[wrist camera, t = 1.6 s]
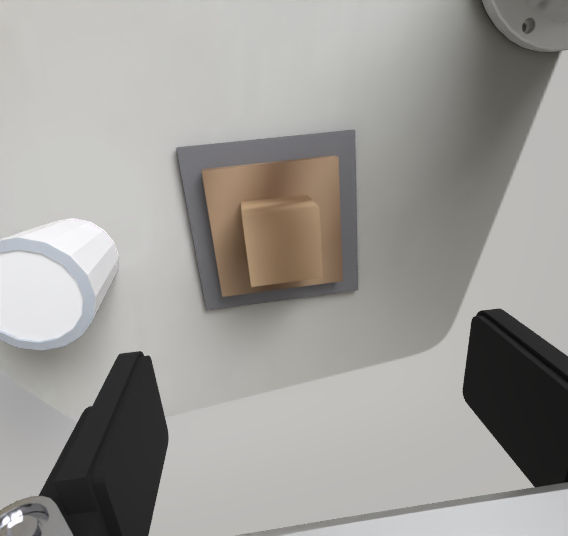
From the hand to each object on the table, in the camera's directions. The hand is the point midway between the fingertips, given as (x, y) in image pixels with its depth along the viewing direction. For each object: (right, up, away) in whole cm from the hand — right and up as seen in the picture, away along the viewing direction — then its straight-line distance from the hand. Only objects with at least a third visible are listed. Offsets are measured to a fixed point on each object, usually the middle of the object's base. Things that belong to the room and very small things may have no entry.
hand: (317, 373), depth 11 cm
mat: (-2, +6, +17) cm, 18 cm away
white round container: (-16, +4, +17) cm, 23 cm away
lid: (-2, +6, +17) cm, 18 cm away
